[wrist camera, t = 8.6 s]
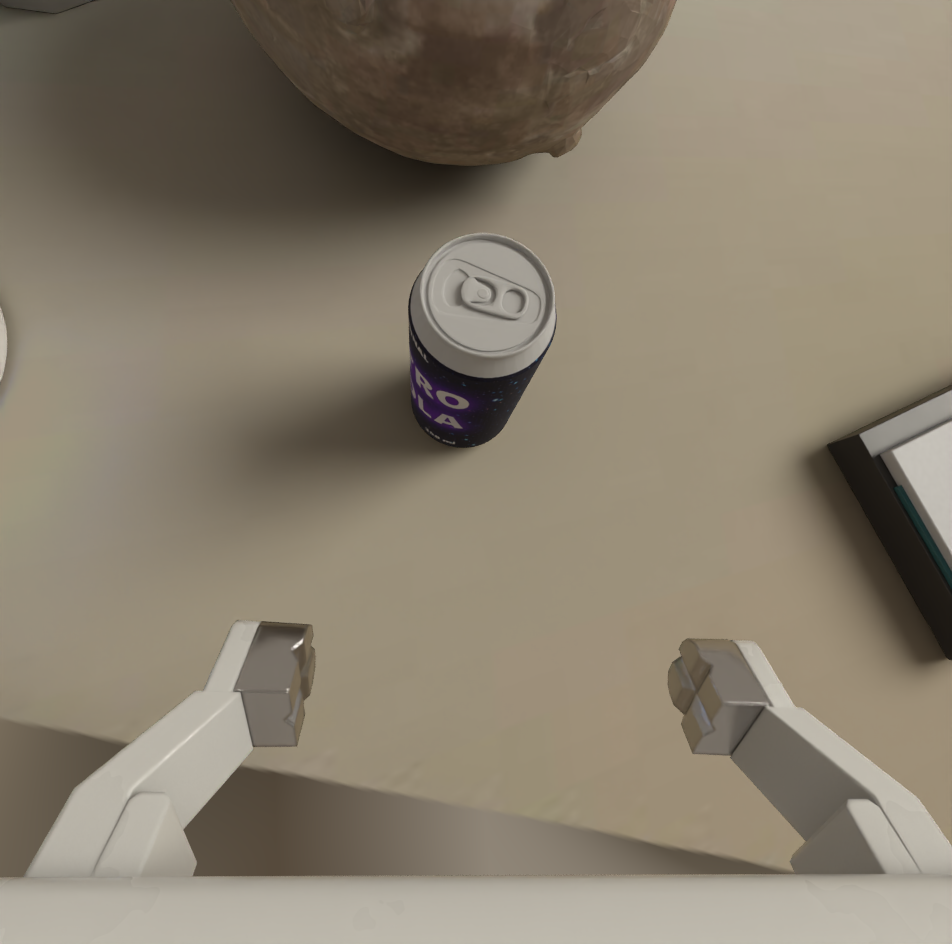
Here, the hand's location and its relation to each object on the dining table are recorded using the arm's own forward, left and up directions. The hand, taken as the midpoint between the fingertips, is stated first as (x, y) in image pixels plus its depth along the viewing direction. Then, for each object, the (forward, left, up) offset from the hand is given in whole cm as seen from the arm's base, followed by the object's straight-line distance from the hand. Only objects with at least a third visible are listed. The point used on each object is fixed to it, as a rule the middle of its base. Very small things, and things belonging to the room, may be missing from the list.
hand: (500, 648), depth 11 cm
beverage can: (+5, +10, -17) cm, 21 cm away
